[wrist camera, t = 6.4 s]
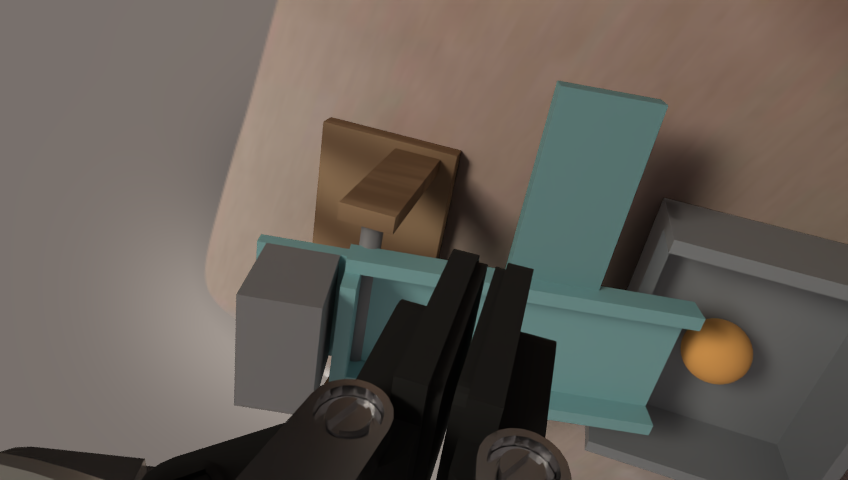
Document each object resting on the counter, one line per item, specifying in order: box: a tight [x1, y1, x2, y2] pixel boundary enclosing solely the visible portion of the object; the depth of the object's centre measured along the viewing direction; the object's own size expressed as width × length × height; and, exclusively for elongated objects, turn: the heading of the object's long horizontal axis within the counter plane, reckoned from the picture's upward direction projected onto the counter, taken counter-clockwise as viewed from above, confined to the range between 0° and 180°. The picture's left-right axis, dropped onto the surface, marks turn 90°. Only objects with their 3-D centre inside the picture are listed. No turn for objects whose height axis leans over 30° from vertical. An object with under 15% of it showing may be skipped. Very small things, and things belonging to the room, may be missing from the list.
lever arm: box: [234, 81, 706, 435], centre depth 30 cm, size 20×24×6 cm
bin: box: [585, 198, 848, 480], centre depth 36 cm, size 16×14×6 cm
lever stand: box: [313, 117, 461, 384], centre depth 37 cm, size 15×9×10 cm, turn 170°
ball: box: [680, 318, 753, 385], centre depth 36 cm, size 4×4×4 cm
